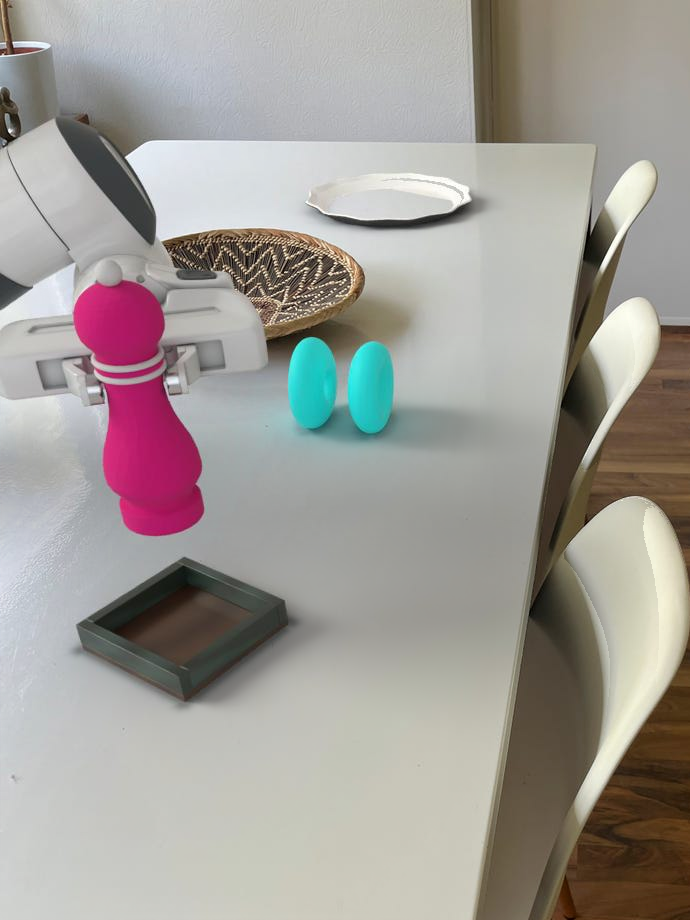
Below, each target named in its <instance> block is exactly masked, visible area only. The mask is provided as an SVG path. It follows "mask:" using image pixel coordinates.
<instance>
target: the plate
mask: <svg viewBox="0 0 690 920" xmlns="http://www.w3.org/2000/svg"><path fill="white" fill-rule="evenodd" d="M392 178H394V179H395V178H397V179H400V178H405V179H406V178H411V179H420V180H429V181H435V182H441V183H445V184H447V185H451V186H454V187H456V188H457V189H459V190H460V191H462V192H463V194H464V195H463V196H464V199H463V200H462V198H461V196H460V194H459V193H457V192H456V191H454V190H453V189H450V188H447V187H445V186H442V185H437V184H432V183H427V182H418V181H403V180H387V181H381V180H386V179H392ZM388 189H389V190H394V191H398V192H399V191H400V192H403V193H404V192H405V193H408V194H415V195H420V196H426V197H430V198H436V199H441V200H445V201H446V200H447V201H451V204H452V207H451V209H449V210H447V211H441V212H433V213H426V214H423V215H419V216H415V217H407V218H405V217H403V218H402V217H378V218H363V217H356V216H352V215H348V214H339V213H331V212H329V209H328V206H329V205H330V204H331V202H333V201H335V200H336V199H338V198H341V197H343V196H346V195H349V194H355V193H359V192H365V191H373V190H388ZM471 191H472V189H471V188H470V187H469V186H467V185H464V184H461V183H458V182H456V181H455V180H452V179H451V178H449V177H445V176H444V177H443V176H434V175H426V174H422V173H416V172H415V173H414V172H399V173H397V172H396V173H377V172H376V173H367V174H362V175H355V176H351V177H342V178H341V177H340V178H336V179H333V180H330V181H329V182H327V183H325V184H323V185H319V186H317V187H314V188H311V190H309V191H308V193H309V196H308V198H307V199H306V201H305V204H306V205H307V206H309V207H311V208H312V209H313V208H314V209H315V210H318V211H319V212H320V213H321V214H322V215H324V216H325V217H326V216H327V217H328V218H331V219H333V220H335V221H338V222H341V223H345V224H350V225H356V226H364V227H365V226H366V227H385V228H386V227H387V228H388V227H390V228H391V227H406V226H413V225H421V224H426V223H430V222H435V221H438V220H441V219H443V218H447V217H448V216H450V215H452V214H454V213H455V212H457V211H458V210H461V209H462V208H464V207H465V206H467V205H470V204H471V203H472V202H473V199H472V198H473V197H472V196H471V195H470V194H471ZM461 200H462V202H461ZM460 202H461V203H460ZM461 207H462V208H461Z"/></svg>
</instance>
